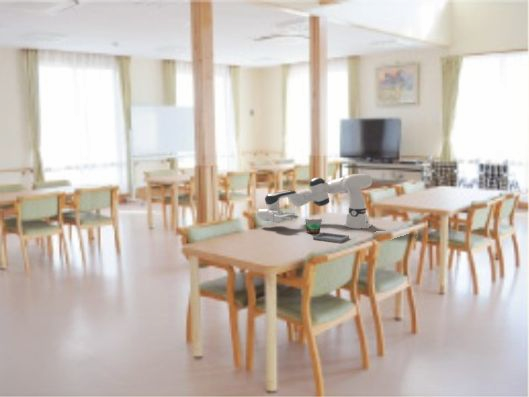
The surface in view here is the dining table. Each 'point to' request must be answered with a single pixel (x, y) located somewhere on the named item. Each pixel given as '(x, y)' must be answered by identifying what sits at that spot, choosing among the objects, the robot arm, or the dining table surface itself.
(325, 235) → the tray
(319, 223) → the food container
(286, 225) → the dining table surface
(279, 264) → the dining table surface
